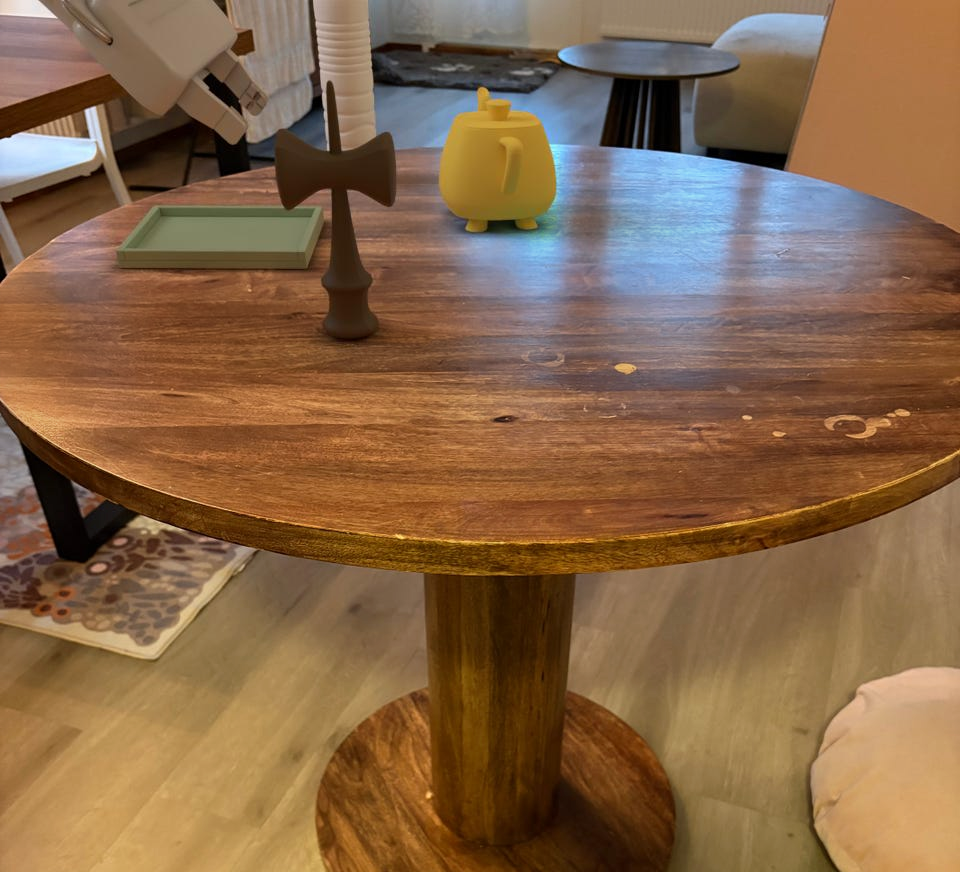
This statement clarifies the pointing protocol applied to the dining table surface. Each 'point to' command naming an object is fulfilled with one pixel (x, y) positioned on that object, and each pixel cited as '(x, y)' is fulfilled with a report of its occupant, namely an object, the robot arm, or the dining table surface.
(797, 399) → the dining table surface
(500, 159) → the teapot
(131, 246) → the serving tray
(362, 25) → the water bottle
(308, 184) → the kendama
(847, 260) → the dining table surface
